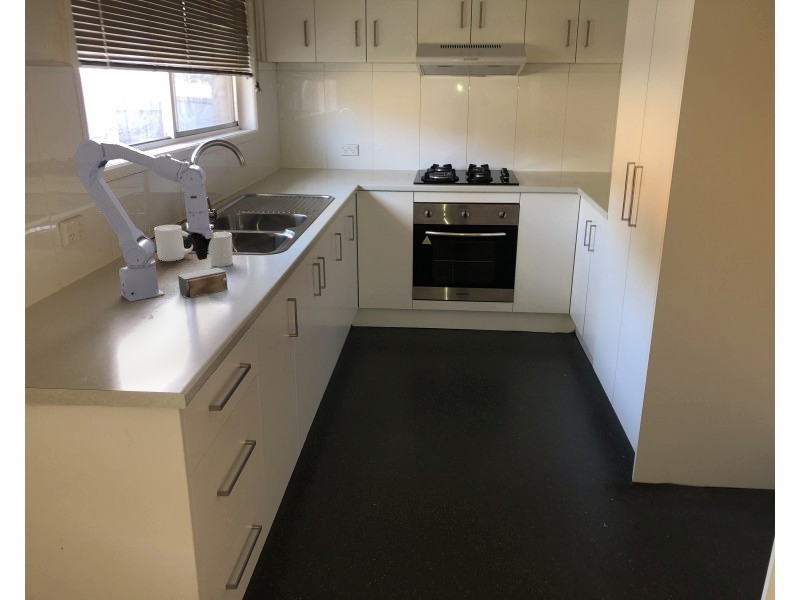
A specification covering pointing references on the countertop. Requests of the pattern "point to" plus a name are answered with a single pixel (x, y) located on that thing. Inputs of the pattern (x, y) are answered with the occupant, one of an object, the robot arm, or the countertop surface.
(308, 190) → the countertop surface
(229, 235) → the white cup
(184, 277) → the grey long block
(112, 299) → the countertop surface
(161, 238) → the mug
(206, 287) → the door
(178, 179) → the robot arm
